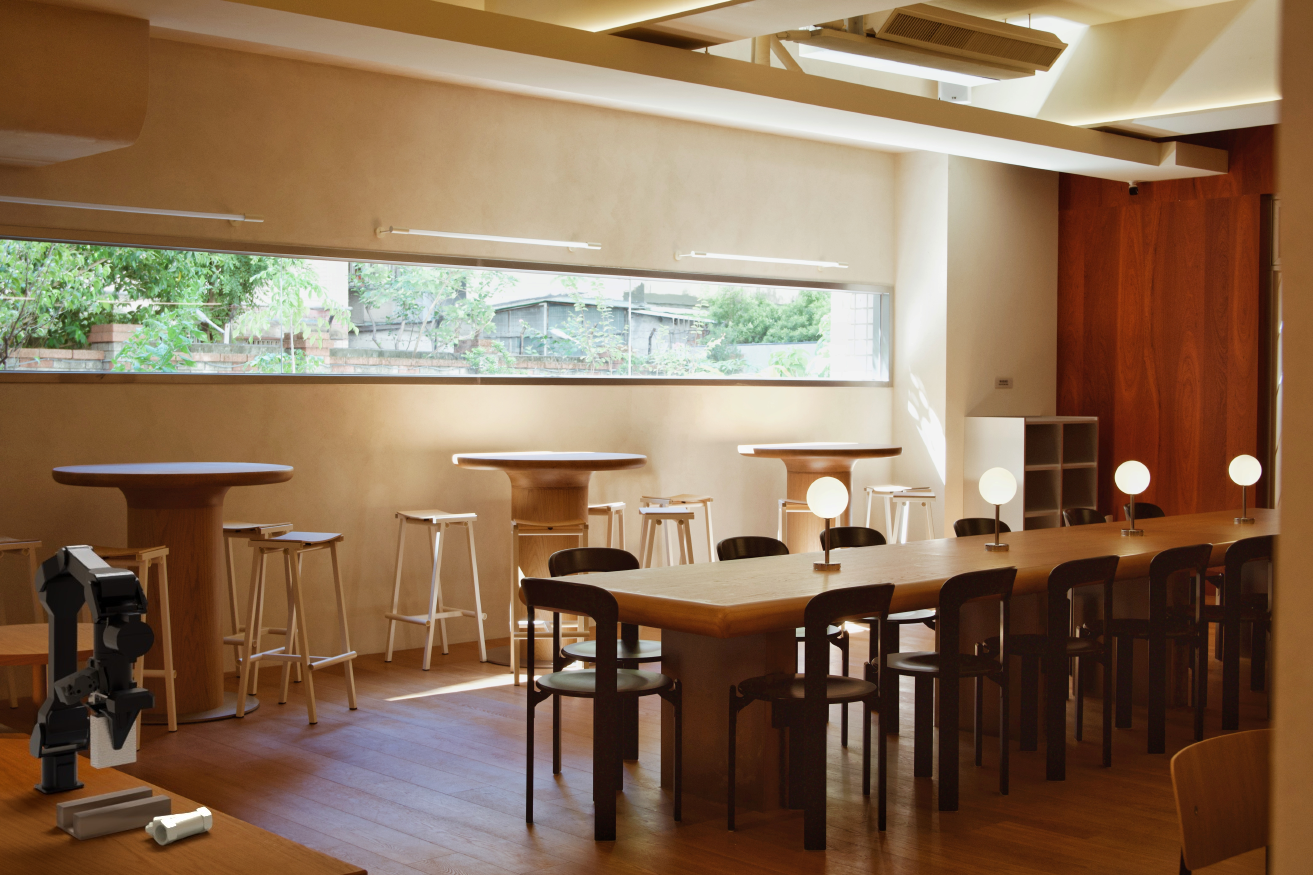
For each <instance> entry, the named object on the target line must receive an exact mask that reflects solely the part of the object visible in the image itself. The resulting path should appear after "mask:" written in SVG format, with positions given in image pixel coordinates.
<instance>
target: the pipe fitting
mask: <svg viewBox="0 0 1313 875" xmlns="http://www.w3.org/2000/svg"><path fill="white" fill-rule="evenodd" d="M212 815H213V814H212V813H211V811H210V810H209V809H208V808H206V807H205V806H203V807H199V808H197V809H195V810H193V811H192V812H186V813H178V814H177V813H176V814H171V815H168V816H160V817H154V819H153V822H150V823H149V825H147V826H145V833H148V834H149V836H152V837H153V839H154V840H155V842H157V843H158V844H159V845H160V846H165V845H169V844H171V843H173V842H175V841H177V840H182V839H184V838H187V837H189V836H190V837H191V836H192V835H196V834H202V833H206V832H207V831H209V830H210V829H211V828H212V827H213V816H212Z"/></svg>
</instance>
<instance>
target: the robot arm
mask: <svg viewBox="0 0 1313 875" xmlns="http://www.w3.org/2000/svg"><path fill="white" fill-rule="evenodd" d="M34 587H35V591H36V592H37V596H38V598H37V599H38V601H39V602H40V604H41V605H42V607H43V608H44V610H45V611H46V613H47V614H48V646H47V648H48V655H47V656H48V657H47V658H48V661H47V662H48V663H47V664H48V666H47V667H48V668H47V669H48V671H47V673H48V678H47V679H48V680H47V681H48V682H47V684H48V686H47V688H48V690H47V691H48V692H47V693H48V694H47V697H46V699H45V700H44V702H43V704H42V705H41V707H40V708H39V709H38V713H37V723H35V725H34V727H33V730H32V734H31V736H30V739H29V743H28V744H29V754H30V755H31V756H32V757H34V758H35V759H39V760H40V759H41V760H40V761H41V771H40V772H41V778H40V779H41V782H39V783H38V782H37V783H35V784H34V788H35V789H36V790H39V791H41V792H42V793H44V794H53V793H58V792H62V791H68V790H72V789H74V790H75V789H77V788H78V789H79V788H83V787H85V783H84V782H83V781H80V780H79V779H78V752H83V751H84V752H85V751H89V747H90V745H91V729H90V717H89V710H91V711H92V712H93V713H94V715H95V714H101V713H103V714H104V715H105V716H107V717H108V719H109V724H110V731H111V737H112V743H113V748H114V750H120V749H122V747H123V745H124V742H125V740H126V738H127V736H128V734H129V732H130V730H131V728H132V726H133V724H134V722H135V720H136V721H137V718H138V716H139V715H140V712H141V710H147V709H154V708H155V707H156V695H155V694H154V693H153V692H152V691H151V690H149V689H146V688H144V687H138V681H136V680H134V679H133V672H134V671H133V664H134V663H137V662H138V658H140V657H142V656H145V655H147V653H149V652H150V650H151V649H152V647H153V646H154V643H155V633H154V631H153V629H152V627H151V626H150V625H149V624H148V623H147V622H144V621H142V615H147V614H148V605H149V601H148V600H147V597H146V594H145V591H144V589H143V586H142V584H141V583H140V580H139V578H138V577H137V575H136V574H135V573H134V572H133V571H131V570H128V569H126V568H119V567H118V568H117V567H115V568H114V567H112V566H110V565H109V564H108V563H107V562H106V561H104V559H102V557H100V556H99V555H97V554H96V552H95V550H94V548H93V546H92V545H88V544H79V545H64V546H63V547H60V548H59V549H58V551H57V553H56V554H54V555H52V556H51V557H49V558H48V559H46V560H44V561H42V562H41V563H40V565H39V568H38V569H37V571H36V572H35V576H34ZM85 603H86V604H87V607H88V610H89V611H90V613H91V616H92V617H91V619H92V621H93V625H92V627H93V629H92V630H93V634H92V636H93V637H92V638H93V645H92V646H93V652H92V654H93V656H88V659H87V661H86V667H85V668H84V669H81V670H78V640H79V638H78V632H79V631H78V627H79V626H78V624H79V621H78V616H79V613H80V611H81V610H82V608H83V606H84V605H85ZM87 696H88V701H87V702H86V701H85V702H82V700H84V698H85V697H87Z"/></svg>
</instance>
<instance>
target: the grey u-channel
mask: <svg viewBox="0 0 1313 875" xmlns="http://www.w3.org/2000/svg"><path fill="white" fill-rule="evenodd" d="M153 791H154V790H153V788H151V787H148V786H146V785H143V786H137V787H131V788H128V789H123V790H118V791H112V792H108V793H107V792H106V793H103V794H97V795H93V796H88V797H87V796H86V797H83V798H79V799H78V798H77V799H72V800H67V801H64V802H57V803H56V827H57V828H59V829H61V830H63V831H64V832H66V833H68V834H70V836H73V837H74V838H76V839H77V840H79V841H85V840H88V839H89V840H90V839H94V838H98V837H103V836H107V835H111V834H115V833H119V832H123V831H128V830H129V831H130V830H133V829H138V828H142V827H146V826H149V823H150V822H153V819H154V817H160V816H168V815H172V798H171V797H169V796H168V795H165V794H160V795H156V796H153Z"/></svg>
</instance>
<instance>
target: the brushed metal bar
mask: <svg viewBox="0 0 1313 875" xmlns="http://www.w3.org/2000/svg"><path fill="white" fill-rule="evenodd" d="M89 719H90V729H91V736H90V766H91V767H93V768H96V769H98V770H99V769H103V768H109V767H115V766H116V767H117V766H120V765H126V764H132V763H135V762H137V719H136V720H135V722H134V724H133V726H132V728H131V730H130V732H129V734H128V736H127V738H126V740H125V742H124V745H123V747H122V749H120V750H114V748H113V743H112V737H111V731H110V724H109V719H108V717H107V716H105V715H104V714H103V713H101V714H95V713H94V714H90V717H89Z"/></svg>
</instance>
